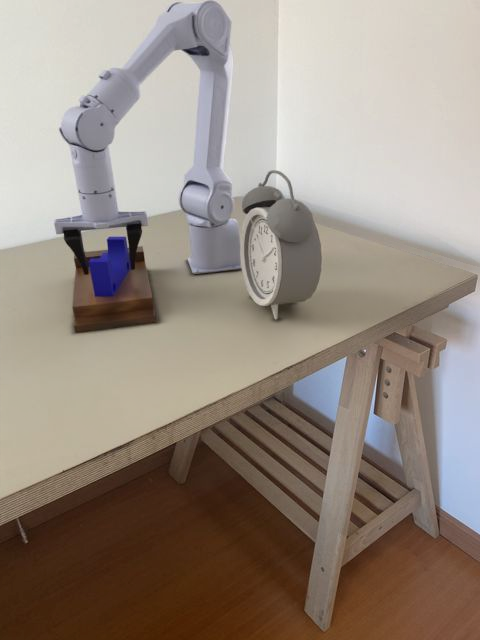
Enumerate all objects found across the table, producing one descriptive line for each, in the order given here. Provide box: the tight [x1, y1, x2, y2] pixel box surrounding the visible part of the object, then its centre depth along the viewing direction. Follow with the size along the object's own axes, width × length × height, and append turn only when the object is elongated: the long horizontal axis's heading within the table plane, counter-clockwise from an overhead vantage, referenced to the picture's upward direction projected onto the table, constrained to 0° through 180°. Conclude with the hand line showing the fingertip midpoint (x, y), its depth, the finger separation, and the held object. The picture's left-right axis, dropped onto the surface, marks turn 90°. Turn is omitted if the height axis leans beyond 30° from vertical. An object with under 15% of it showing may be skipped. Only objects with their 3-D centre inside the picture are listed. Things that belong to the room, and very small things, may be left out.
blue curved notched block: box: [89, 236, 131, 297], centre depth 95 cm, size 12×4×6 cm, turn 178°
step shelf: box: [72, 245, 157, 333], centre depth 97 cm, size 12×23×5 cm, turn 14°
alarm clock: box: [240, 169, 323, 320], centre depth 89 cm, size 16×9×22 cm, turn 23°
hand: (109, 270), depth 95 cm, fingers open, 7 cm apart
